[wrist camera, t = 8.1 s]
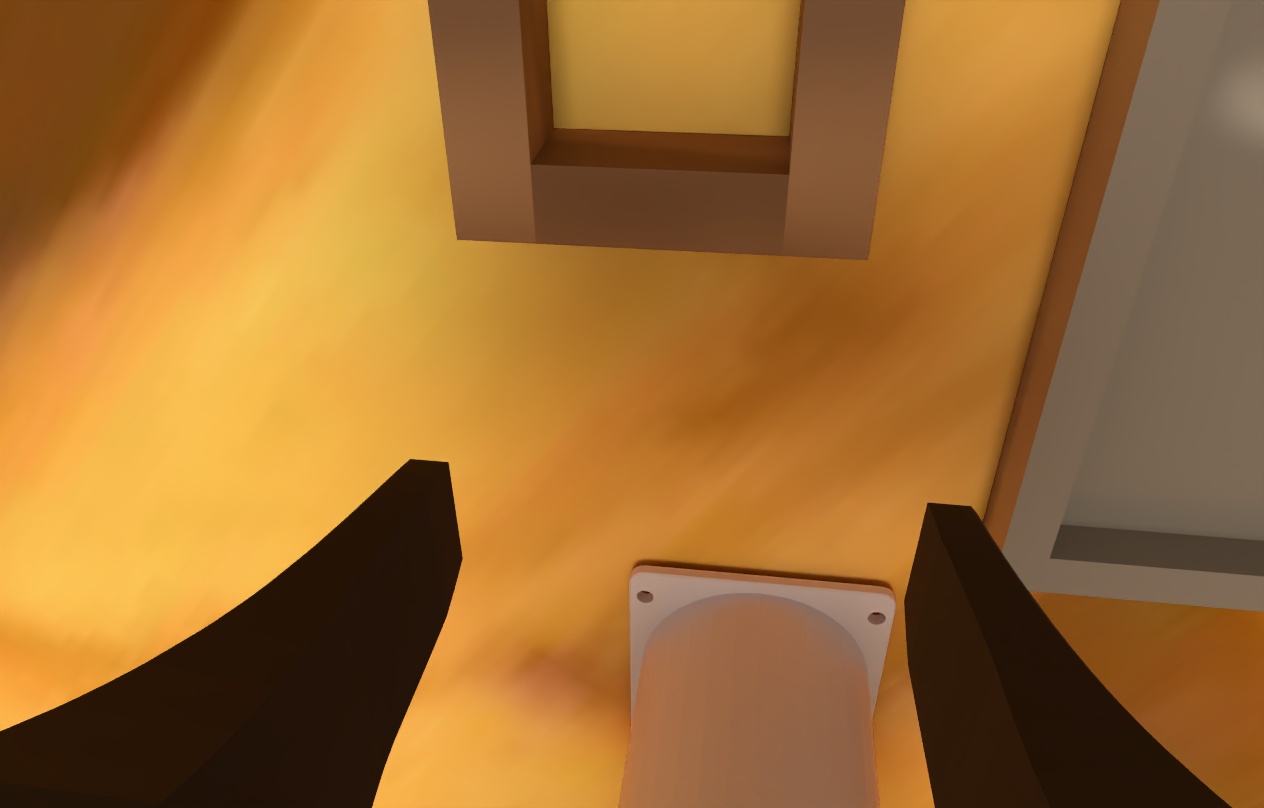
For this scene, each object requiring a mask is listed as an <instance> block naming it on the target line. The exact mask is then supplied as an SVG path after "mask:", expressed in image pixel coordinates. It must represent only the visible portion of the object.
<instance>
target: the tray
mask: <svg viewBox="0 0 1264 808" xmlns="http://www.w3.org/2000/svg"><path fill="white" fill-rule="evenodd" d="M983 524H984V525H985V527H986V528H987V530H988V532H989V533H990V535H991V536H992V538H993V539H994V541H995V542H996V544H997V546H998V547H999V549H1000V550H1001V552H1002V553H1003V555H1004V556H1005V558H1006V559H1007V561H1008V562H1009V564H1010V565H1011V567H1012V568H1013V569H1014V571H1015V572H1016V574H1017V575H1018V577H1019V578H1020V580H1021V581H1022V583H1023V584H1024V585H1025V587H1026V588H1027V590H1028V591H1035V592H1047V593H1058V594H1069V595H1081V596H1092V597H1103V598H1115V599H1126V600H1137V601H1149V602H1160V603H1171V604H1183V605H1194V606H1205V607H1217V608H1228V609H1239V610H1251V611H1262V612H1264V0H1121V4H1120V8H1119V11H1118V15H1117V19H1116V23H1115V27H1114V30H1113V34H1112V38H1111V42H1110V45H1109V49H1108V53H1107V57H1106V61H1105V64H1104V68H1103V72H1102V76H1101V79H1100V83H1099V87H1098V91H1097V95H1096V98H1095V102H1094V106H1093V110H1092V113H1091V117H1090V121H1089V125H1088V129H1087V132H1086V136H1085V140H1084V144H1083V147H1082V151H1081V155H1080V159H1079V163H1078V166H1077V170H1076V174H1075V178H1074V181H1073V185H1072V189H1071V193H1070V197H1069V200H1068V204H1067V208H1066V212H1065V215H1064V219H1063V223H1062V227H1061V231H1060V234H1059V238H1058V242H1057V246H1056V249H1055V253H1054V257H1053V261H1052V265H1051V268H1050V272H1049V276H1048V280H1047V283H1046V287H1045V291H1044V295H1043V299H1042V302H1041V306H1040V310H1039V314H1038V317H1037V321H1036V325H1035V329H1034V333H1033V336H1032V340H1031V344H1030V348H1029V351H1028V355H1027V359H1026V363H1025V367H1024V370H1023V374H1022V378H1021V382H1020V385H1019V389H1018V393H1017V397H1016V401H1015V404H1014V408H1013V412H1012V416H1011V419H1010V423H1009V427H1008V431H1007V435H1006V438H1005V442H1004V446H1003V450H1002V453H1001V457H1000V461H999V465H998V469H997V472H996V476H995V480H994V484H993V487H992V491H991V495H990V499H989V503H988V506H987V510H986V514H985V518H984V521H983Z"/></svg>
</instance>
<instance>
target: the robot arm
mask: <svg viewBox="0 0 1264 808" xmlns="http://www.w3.org/2000/svg"><path fill="white" fill-rule="evenodd" d="M462 559H463V558H462V551H461V544H460V537H459V531H458V524H457V517H456V510H455V504H454V497H453V490H452V483H451V477H450V470H449V463H448V462H439V461H427V460H415V459H410V460H409V461H408V462H406V463H405V464H404V465H403V466H402V467H401V468H400V469H399V470H397V471H396V472H395V473H394V474H393V475H392V476H391V477H390V478H389V479H388V480H387V481H386V482H384V483H383V484H382V485H381V486H380V487H379V488H378V489H377V490H376V491H375V492H374V493H373V494H372V495H371V496H370V497H368V498H367V499H366V500H365V501H364V502H363V503H362V504H361V505H360V506H359V507H358V508H357V509H355V510H354V511H353V512H352V513H351V514H350V515H349V516H348V517H347V518H346V519H345V520H343V521H342V522H341V523H340V524H339V525H338V526H337V527H335V528H334V529H333V530H332V531H331V532H330V533H329V534H328V535H326V536H325V537H324V538H323V539H322V540H321V541H320V542H319V543H317V544H316V545H315V546H314V547H313V548H312V549H310V550H309V551H308V552H307V553H306V554H304V555H303V556H302V557H301V558H300V559H298V560H297V561H296V562H295V563H293V564H292V565H291V566H290V567H288V568H287V569H286V570H285V571H283V572H282V573H281V574H280V575H278V576H277V577H276V578H275V579H273V580H272V581H271V582H270V583H268V584H267V585H266V586H265V587H263V588H262V589H261V590H259V591H258V592H256V593H255V594H254V595H252V596H251V597H250V598H248V599H247V600H245V601H244V602H243V603H241V604H240V605H238V606H237V607H235V608H234V609H232V610H231V611H229V612H228V613H226V614H225V615H223V616H222V617H220V618H219V619H218V620H216V621H215V622H213V623H212V624H210V625H208V626H207V627H205V628H204V629H202V630H201V631H199V632H197V633H195V634H194V635H192V636H190V637H189V638H187V639H185V640H184V641H182V642H180V643H179V644H177V645H175V646H173V647H172V648H170V649H168V650H167V651H165V652H163V653H162V654H160V655H158V656H156V657H155V658H153V659H151V660H150V661H148V662H146V663H145V664H143V665H141V666H139V667H137V668H135V669H133V670H132V671H130V672H128V673H126V674H124V675H122V676H120V677H118V678H116V679H114V680H112V681H110V682H109V683H107V684H105V685H102V686H100V687H98V688H96V689H94V690H92V691H90V692H88V693H86V694H84V695H82V696H80V697H78V698H76V699H74V700H72V701H69V702H67V703H65V704H63V705H61V706H59V707H56V708H54V709H52V710H50V711H47V712H45V713H42V714H40V715H38V716H35V717H33V718H31V719H28V720H26V721H24V722H21V723H19V724H17V725H14V726H12V727H10V728H7V729H5V730H2V731H0V808H372V805H373V802H374V799H375V796H376V792H377V789H378V786H379V783H380V779H381V776H382V773H383V770H384V767H385V764H386V761H387V759H388V756H389V753H390V751H391V748H392V745H393V743H394V740H395V738H396V736H397V733H398V731H399V728H400V726H401V724H402V721H403V719H404V717H405V714H406V712H407V710H408V707H409V705H410V703H411V700H412V698H413V696H414V693H415V691H416V689H417V686H418V684H419V682H420V679H421V677H422V674H423V672H424V670H425V667H426V665H427V663H428V660H429V658H430V656H431V653H432V651H433V648H434V646H435V644H436V641H437V639H438V636H439V634H440V632H441V629H442V627H443V624H444V622H445V619H446V617H447V613H448V610H449V606H450V603H451V600H452V596H453V593H454V589H455V585H456V582H457V578H458V574H459V570H460V566H461V563H462ZM641 591H648V592H650V594H645V593H642V592H641ZM904 605H905V624H906V641H907V655H908V666H909V672H910V677H911V683H912V688H913V694H914V699H915V705H916V710H917V715H918V721H919V726H920V731H921V736H922V742H923V747H924V752H925V757H926V763H927V768H928V773H929V778H930V784H931V789H932V794H933V799H934V805H935V808H1232V807H1231V806H1229V805H1228V804H1227V803H1226V802H1225V801H1224V800H1222V799H1221V798H1220V797H1219V796H1218V795H1216V794H1215V793H1214V792H1213V791H1212V790H1210V789H1209V788H1208V787H1207V786H1206V785H1205V784H1204V783H1203V782H1202V781H1200V780H1199V779H1198V778H1197V777H1196V776H1195V775H1194V774H1193V773H1192V772H1190V771H1189V770H1188V769H1187V768H1186V767H1185V766H1184V765H1183V764H1181V763H1180V762H1179V761H1178V760H1177V759H1176V758H1175V757H1174V756H1173V755H1171V754H1170V753H1169V752H1168V751H1167V750H1166V749H1165V748H1164V747H1163V746H1162V745H1161V744H1160V743H1159V742H1158V741H1157V740H1155V739H1154V738H1153V737H1152V736H1151V735H1150V734H1149V733H1148V732H1147V731H1146V730H1145V729H1144V728H1143V727H1142V726H1141V725H1140V724H1139V723H1138V722H1137V721H1136V720H1135V719H1134V718H1133V716H1132V715H1131V714H1130V713H1129V712H1128V711H1127V710H1126V709H1125V708H1124V707H1123V706H1122V705H1121V704H1120V703H1119V702H1118V701H1117V700H1116V699H1115V698H1114V697H1113V695H1112V694H1111V693H1110V692H1109V691H1108V690H1107V689H1106V688H1105V687H1104V685H1103V684H1102V683H1101V682H1100V681H1099V680H1098V679H1097V677H1096V676H1095V675H1094V674H1093V673H1092V672H1091V670H1090V669H1089V668H1088V667H1087V666H1086V664H1085V663H1084V662H1083V661H1082V660H1081V658H1080V657H1079V656H1078V655H1077V654H1076V652H1075V651H1074V650H1073V649H1072V648H1071V646H1070V645H1069V644H1068V643H1067V641H1066V640H1065V639H1064V638H1063V636H1062V635H1061V634H1060V632H1059V631H1058V630H1057V629H1056V627H1055V626H1054V625H1053V623H1052V622H1051V621H1050V619H1049V618H1048V617H1047V615H1046V614H1045V613H1044V611H1043V610H1042V609H1041V607H1040V606H1039V605H1038V603H1037V602H1036V601H1035V599H1034V598H1033V596H1032V595H1031V594H1030V592H1029V591H1028V590H1027V588H1026V587H1025V585H1024V584H1023V583H1022V581H1021V580H1020V578H1019V577H1018V575H1017V574H1016V572H1015V571H1014V569H1013V568H1012V567H1011V565H1010V564H1009V562H1008V561H1007V559H1006V558H1005V556H1004V555H1003V553H1002V552H1001V550H1000V549H999V547H998V546H997V544H996V542H995V541H994V539H993V538H992V536H991V535H990V533H989V532H988V530H987V528H986V527H985V525H984V524H983V522H982V521H981V519H980V517H979V516H978V514H977V513H976V512H975V510H974V509H973V508H972V507H971V506H961V505H949V504H937V503H928V504H927V508H926V512H925V516H924V520H923V524H922V529H921V533H920V537H919V541H918V545H917V550H916V554H915V558H914V562H913V566H912V570H911V575H910V579H909V583H908V587H907V591H906V595H905V600H904ZM629 609H630V679H631V732H630V739H629V745H628V751H627V757H626V763H625V770H624V776H623V782H622V788H621V794H620V800H619V807H618V808H880V803H879V792H878V781H877V770H876V759H875V747H874V736H873V725H872V719H873V714H874V710H875V705H876V700H877V695H878V691H879V686H880V681H881V676H882V672H883V667H884V662H885V657H886V653H887V648H888V643H889V638H890V633H891V629H892V624H893V619H894V614H895V610H896V601H895V595H894V593H893V592H892V591H891V590H890V589H888V588H886V587H882V586H873V585H861V584H850V583H839V582H828V581H817V580H805V579H794V578H783V577H772V576H761V575H749V574H738V573H727V572H716V571H705V570H693V569H682V568H671V567H660V566H649V565H643V566H638V567H636V568H634V569H633V570H632V572H631V576H630V581H629ZM874 612H879V613H881V614H879V615H873V614H871V613H874Z"/></svg>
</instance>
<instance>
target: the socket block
mask: <svg viewBox="0 0 1264 808" xmlns="http://www.w3.org/2000/svg"><path fill="white" fill-rule="evenodd" d="M428 5H429V14H430V22H431V30H432V38H433V46H434V55H435V63H436V71H437V79H438V87H439V96H440V104H441V112H442V120H443V128H444V137H445V145H446V153H447V161H448V169H449V178H450V186H451V194H452V202H453V210H454V219H455V227H456V235H457V240H474V241H494V242H514V243H534V244H554V245H575V246H595V247H615V248H635V249H655V250H675V251H695V252H715V253H736V254H756V255H776V256H796V257H816V258H836V259H856V260H868V256H869V249H870V242H871V235H872V228H873V221H874V214H875V207H876V200H877V193H878V186H879V179H880V172H881V166H882V159H883V152H884V145H885V138H886V131H887V124H888V117H889V110H890V103H891V96H892V89H893V82H894V75H895V69H896V62H897V55H898V48H899V41H900V34H901V27H902V20H903V13H904V6H905V0H801V5H800V17H799V29H798V40H797V52H796V63H795V75H794V87H793V98H792V110H791V122H790V133H789V137H779V136H751V135H722V134H694V133H665V132H636V131H608V130H579V129H553V111H552V93H551V75H550V57H549V40H548V22H547V4H546V0H428Z"/></svg>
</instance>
